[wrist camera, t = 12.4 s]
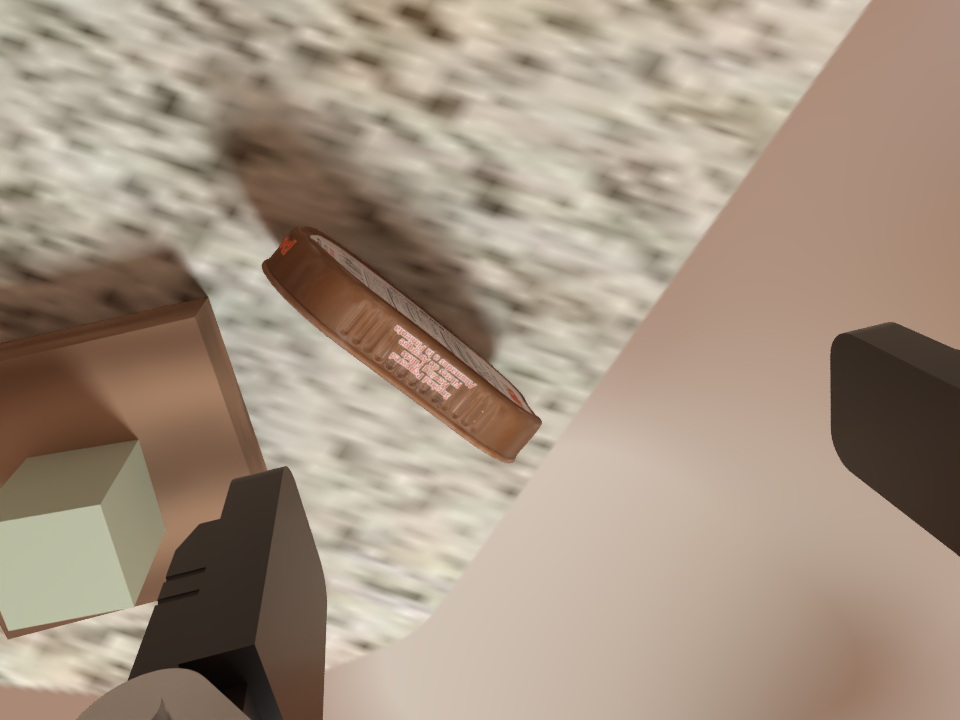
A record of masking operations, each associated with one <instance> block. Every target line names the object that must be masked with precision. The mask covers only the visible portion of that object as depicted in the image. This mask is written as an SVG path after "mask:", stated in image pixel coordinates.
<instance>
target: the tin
mask: <svg viewBox="0 0 960 720" xmlns="http://www.w3.org/2000/svg"><path fill="white" fill-rule="evenodd" d="M262 269H263V272H264V274H265V275H266V277H267V278H268V280H269V281H270V282H271V284H272V285H273V286H274V287H275V288H276V290H277V291H278V292H279V293H280V294H281V295H282V296H283V297H284V299H286V300H287V301H288V302H289V303H290V304H291V305H292V306H293V307H294V308H295V309H296V310H297V311H298V312H299V313H300V314H302V315H303V316H304V317H305V318H306V319H307V320H308V321H309V322H310V323H312V324H313V325H314V326H316V327H317V328H318V329H319V330H320V331H321V332H323V333H324V334H325V335H326V336H327V337H329V338H330V339H332V340H333V341H334V342H335V343H337V344H338V345H339V346H341V347H342V348H343V349H345V350H346V351H347V352H349V353H350V354H351V355H353V356H354V357H355V358H357V359H358V360H359V361H361V362H362V363H364V364H365V365H366V366H368V367H369V368H370V369H372V370H373V371H374V372H376V373H377V374H378V375H380V376H381V377H382V378H384V379H385V380H386V381H388V382H389V383H391V384H392V385H393V386H394V387H396V388H397V389H399V390H400V391H402V392H403V393H404V394H405V395H407V396H408V397H409V398H411V399H412V400H414V401H415V402H416V403H417V404H419V405H420V406H422V407H423V408H424V409H426V410H427V411H428V412H430V413H431V414H432V415H433V416H435V417H436V418H438V419H439V420H440V421H442V422H443V423H444V424H446V425H447V426H448V427H450V428H451V429H452V430H454V431H455V432H456V433H457V434H459V435H460V436H462V437H463V438H464V439H466V440H467V441H468V442H470V443H471V444H472V445H474V446H475V447H477V448H478V449H480V450H482V451H483V452H485V453H487V454H488V455H490V456H491V457H493V458H495V459H498V460H500V461H503V462H505V463H513V462H514V460H515V458H516V456H517V454H518V453H519V452H520V450H521V449H522V448H523V447H524V446H525V445H526V444H527V442H528V441H529V440H530V439H531V438H532V437H533V435H534V434H535V433H536V432H537V430H538V429H539V427H540V426H541V424H542V421H541V419H540V418H539V417H538V416H536V415H535V414H534V412H533V411H532V410H531V409H530V407H529V406H528V404H527V402H526V400H525V398H524V397H523V395H522V394H521V393H520V392H519V390H518V389H517V388H516V387H515V386H514V385H513V384H512V383H510V382H509V381H508V380H507V379H506V378H505V377H504V376H503V375H502V374H501V373H499V372H498V371H497V370H496V369H495V368H494V367H493V366H492V365H491V364H489V363H488V362H487V361H486V360H485V359H484V358H482V357H481V356H480V355H479V354H477V353H476V352H475V351H474V350H473V349H472V348H470V347H469V346H468V345H467V344H465V343H464V342H463V341H462V340H460V339H459V338H458V337H457V336H456V335H454V334H453V333H452V332H451V331H450V330H448V329H447V328H446V327H445V326H443V325H442V324H441V323H440V322H439V321H437V320H436V319H435V318H434V317H433V316H431V315H430V314H429V313H428V312H427V311H425V310H424V309H423V308H422V307H420V306H419V305H418V304H417V303H415V302H414V301H413V300H412V299H410V298H409V297H408V296H407V295H405V294H404V293H403V292H402V291H400V290H399V289H398V288H397V287H395V286H394V285H393V284H391V283H390V282H389V281H388V280H386V279H385V278H384V277H382V276H381V275H380V274H379V273H377V272H376V271H375V270H373V269H372V268H371V267H370V266H368V265H367V264H366V263H364V262H363V261H362V260H360V259H359V258H358V257H356V256H355V255H354V254H352V253H351V252H350V251H348V250H347V249H346V248H344V247H343V246H341V245H340V244H339V243H337V242H336V241H334V240H333V239H331V238H330V237H328V236H326V235H325V234H323V233H322V232H320V231H318V230H316V229H314V228H311V227H298V228H295V229H294V230H292V231H291V232H290V234H289V235H288V236H287V237H286V238H285V240H284V241H283V242H282V244H281V245H280V246H279V248H278V249H277V250H276V251H275V253H274V254H273V255H272V256H271V257H270V258H269V259H267V260H265V261H264V262H263V263H262Z"/></svg>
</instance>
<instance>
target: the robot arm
mask: <svg viewBox="0 0 960 720" xmlns="http://www.w3.org/2000/svg"><path fill="white" fill-rule="evenodd" d="M830 355H831V356H830V358H831V359H830V361H831V362H830V364H831V365H830V367H831V368H830V369H831V435H832V440H833V444H834V447H835V450H836V452H837V454H838V456H839V457H840V459H841V461H842V463H843V464H844V465H845V467H846V468H847V469H848V470H849V471H850V472H852V473H853V474H854V475H855V476H857V477H858V478H859V479H861V480H862V481H863V482H864V483H866V484H867V485H868V486H870V487H871V488H872V489H873V490H875V491H876V492H877V493H879V494H880V495H881V496H882V497H884V498H885V499H886V500H888V501H889V502H890V503H891V504H893V505H894V506H895V507H897V508H898V509H899V510H901V511H902V512H903V513H904V514H906V515H907V516H908V517H910V518H911V519H912V520H913V521H915V522H916V523H917V524H919V525H920V526H921V527H922V528H924V529H925V530H926V531H928V532H929V533H930V534H932V535H933V536H934V537H935V538H937V539H938V540H939V541H940V542H942V543H943V544H944V545H946V546H947V547H948V548H949V549H951V550H952V551H954V552H955V553H956V554H957V555H958V556H960V350H957V349H954V348H951V347H949V346H947V345H944V344H942V343H940V342H938V341H935V340H933V339H931V338H929V337H926V336H924V335H922V334H919V333H917V332H915V331H913V330H910V329H908V328H906V327H903V326H901V325H899V324H896V323H893V322H888V323H883V324H879V325H875V326H871V327H867V328H863V329H858V330H854V331H850V332H846V333H842V334H839V335H838V336H837V337H836V338H835V339H834V341H833V343H832V347H831V354H830ZM157 601H158V605H156V606H155V607H154V610H153V613H152V616H151V618H150V621H149V624H148V626H147V629H146V632H145V635H144V637H143V640H142V643H141V646H140V648H139V651H138V654H137V657H136V659H135V662H134V665H133V667H132V670H131V673H130V676H129V678H128V681H127V682H125V683H123V684H121V685H119V686H117V687H116V688H114V689H112V690H111V691H109V692H108V693H106V694H105V695H103V696H102V697H101V698H99V699H98V700H97V701H95V702H94V703H93V704H92V705H90V706H89V707H88V708H87V709H86V710H85V711H84V712H83V713H82V714H81V715H80V716H79V717H78V718H77V719H76V720H323V696H324V695H323V694H324V670H325V644H326V618H327V595H326V586H325V580H324V574H323V570H322V565H321V562H320V558H319V555H318V552H317V549H316V545H315V542H314V539H313V536H312V533H311V530H310V527H309V523H308V520H307V517H306V514H305V511H304V508H303V505H302V501H301V498H300V495H299V492H298V489H297V486H296V483H295V480H294V477H293V475H292V473H291V471H290V469H289V468H288V467H287V466H285V467H281V468H277V469H272V470H268V471H264V472H260V473H256V474H252V475H248V476H243V477H239V478H235V479H233V480H232V481H231V483H230V486H229V490H228V493H227V497H226V500H225V503H224V507H223V510H222V514H221V517H220V519H217V520H213V521H209V522H205V523H201V524H199V525H198V526H197V527H196V528H195V529H194V530H193V531H192V533H191V534H190V535H189V536H188V537H187V538H186V539H185V540H184V541H183V542H182V544H181V545H180V546H179V547H178V548H177V549H176V550H175V553H174V555H173V558H172V561H171V564H170V566H169V569H168V572H167V575H166V582H164V583H163V586H162V588H161V591H160V594H159V596H158V599H157Z"/></svg>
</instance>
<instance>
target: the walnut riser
mask: <svg viewBox="0 0 960 720" xmlns="http://www.w3.org/2000/svg"><path fill="white" fill-rule="evenodd" d="M133 440H139V442H140V446H141V449H142V452H143V456H144V459H145V462H146V465H147V469H148V472H149V475H150V479H151V482H152V485H153V489H154V492H155V495H156V499H157V502H158V505H159V509H160V512H161V516H162V519H163V522H164V526H165V529H166V530H165V533H164V535H163V538H162V540H161V543H160V545H159V547H158V550H157V552H156V555H155V557H154V560H153V562H152V565H151V567H150V569H149V572H148V574H147V577H146V579H145V582H144V584H143V587H142V589H141V591H140V594H139V596H138V599H137V601H136V604H135V606H138V605H142V604H146V603H150V602H154V601H157V599H158V596H159V594H160V591H161V588H162V586H163V583H164V582H166V575H167V572H168V569H169V566H170V564H171V561H172V558H173V555H174V553H175V550H176V549H177V548H178V547H179V546H180V545H181V544H182V542H183V541H184V540H185V539H186V538H187V537H188V536H189V535H190V534H191V533H192V531H193V530H194V529H195V528H196V527H197V526H198V525H199V524H201V523H205V522H209V521H213V520H217V519H220V517H221V514H222V510H223V507H224V503H225V500H226V497H227V493H228V490H229V486H230V483H231V481H232V480H233V479H235V478H239V477H243V476H248V475H252V474H256V473H260V472H264V471H267V468H266V465H265V462H264V459H263V456H262V453H261V450H260V447H259V444H258V441H257V439H256V436H255V433H254V430H253V427H252V424H251V421H250V418H249V415H248V412H247V409H246V406H245V403H244V400H243V397H242V395H241V392H240V389H239V386H238V383H237V380H236V377H235V374H234V371H233V368H232V365H231V362H230V359H229V356H228V354H227V351H226V348H225V345H224V342H223V339H222V336H221V333H220V330H219V327H218V324H217V321H216V318H215V315H214V312H213V310H212V307H211V304H210V301H209V298H208V297H205V298H201V299H196V300H192V301H187V302H183V303H179V304H174V305H170V306H165V307H161V308H157V309H152V310H148V311H143V312H139V313H134V314H130V315H126V316H121V317H117V318H112V319H108V320H103V321H99V322H95V323H90V324H86V325H81V326H77V327H73V328H68V329H64V330H59V331H55V332H50V333H46V334H42V335H37V336H33V337H28V338H24V339H20V340H15V341H11V342H6V343H2V344H0V488H1V487H2V486H3V485H4V484H5V483H6V482H7V480H8V479H9V478H10V477H11V476H12V475H13V473H14V472H15V471H16V470H17V469H18V468H19V467H20V465H21V464H22V463H23V462H24V461H25V460H26V458H29V457H35V456H41V455H48V454H54V453H60V452H66V451H72V450H78V449H84V448H90V447H96V446H103V445H109V444H115V443H121V442H127V441H133ZM135 606H134V607H135ZM122 610H123V609H122ZM116 611H119V610H116ZM111 612H115V611H111ZM111 612H106V613H101V614H95V615H90V616H85V617H80V618H74V619H69V620H64V621H59V622H53V623H48V624H43V625H38V626H32V627H27V628H22V629H17V630H12V631H8V629H7V626H6V624H5V621H4V619H3V616H2V614H1V612H0V626H1V628H2V630H3V631H4V633H5V635H6V637H7V639H11V638H15V637H19V636H23V635H26V634H30V633H34V632H38V631H42V630H46V629H50V628H53V627H57V626H61V625H65V624H69V623H73V622H77V621H81V620H84V619H88V618H92V617H96V616H100V615H104V614H108V613H111Z"/></svg>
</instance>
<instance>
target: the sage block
mask: <svg viewBox="0 0 960 720" xmlns="http://www.w3.org/2000/svg"><path fill="white" fill-rule="evenodd" d="M165 530H166V529H165V526H164V522H163V519H162V516H161V512H160V509H159V505H158V502H157V499H156V495H155V492H154V489H153V485H152V482H151V479H150V475H149V472H148V469H147V465H146V462H145V459H144V456H143V452H142V449H141V446H140V442H139V440H133V441H127V442H121V443H115V444H109V445H103V446H96V447H90V448H84V449H78V450H72V451H66V452H60V453H54V454H48V455H41V456H35V457H29V458H26V460H25V461H24V462H23V463H22V464H21V465H20V467H19V468H18V469H17V470H16V471H15V472H14V473H13V475H12V476H11V477H10V478H9V479H8V480H7V482H6V483H5V484H4V485H3V486H2V487H1V488H0V612H1V614H2V616H3V619H4V621H5V624H6V626H7V629H8V631H12V630H17V629H22V628H27V627H32V626H38V625H43V624H48V623H53V622H59V621H64V620H69V619H74V618H80V617H85V616H90V615H95V614H101V613H106V612H111V611H116V610H122V609H127V608H132V607H134V606H135V604H136V601H137V599H138V596H139V594H140V591H141V589H142V587H143V584H144V582H145V579H146V577H147V574H148V572H149V569H150V567H151V565H152V562H153V560H154V557H155V555H156V552H157V550H158V547H159V545H160V543H161V540H162V538H163V535H164V533H165Z"/></svg>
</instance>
